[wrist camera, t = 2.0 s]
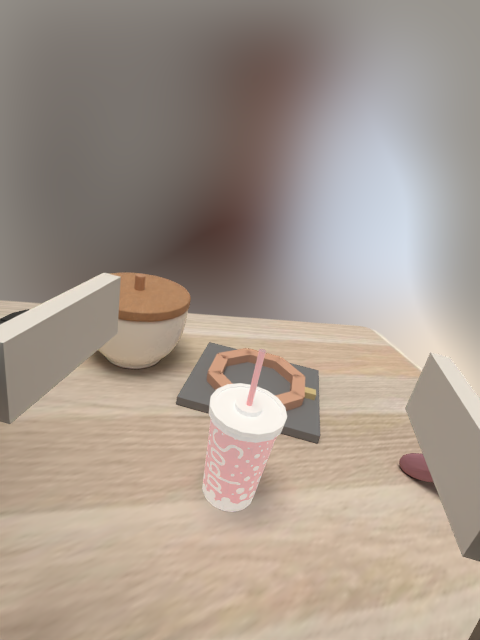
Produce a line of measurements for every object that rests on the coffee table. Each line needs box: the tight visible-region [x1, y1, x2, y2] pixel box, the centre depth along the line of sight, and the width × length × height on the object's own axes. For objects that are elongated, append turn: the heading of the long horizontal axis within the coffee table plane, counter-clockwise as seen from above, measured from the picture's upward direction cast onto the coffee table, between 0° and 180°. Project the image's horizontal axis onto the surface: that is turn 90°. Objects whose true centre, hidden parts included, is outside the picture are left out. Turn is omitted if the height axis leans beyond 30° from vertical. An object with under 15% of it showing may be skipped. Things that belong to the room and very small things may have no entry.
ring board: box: [176, 342, 320, 443], centre depth 46 cm, size 16×14×2 cm
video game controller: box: [400, 453, 434, 482], centre depth 39 cm, size 10×5×7 cm, turn 128°
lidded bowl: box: [98, 273, 191, 369], centre depth 47 cm, size 13×13×11 cm
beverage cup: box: [202, 349, 287, 512], centre depth 30 cm, size 6×6×14 cm
